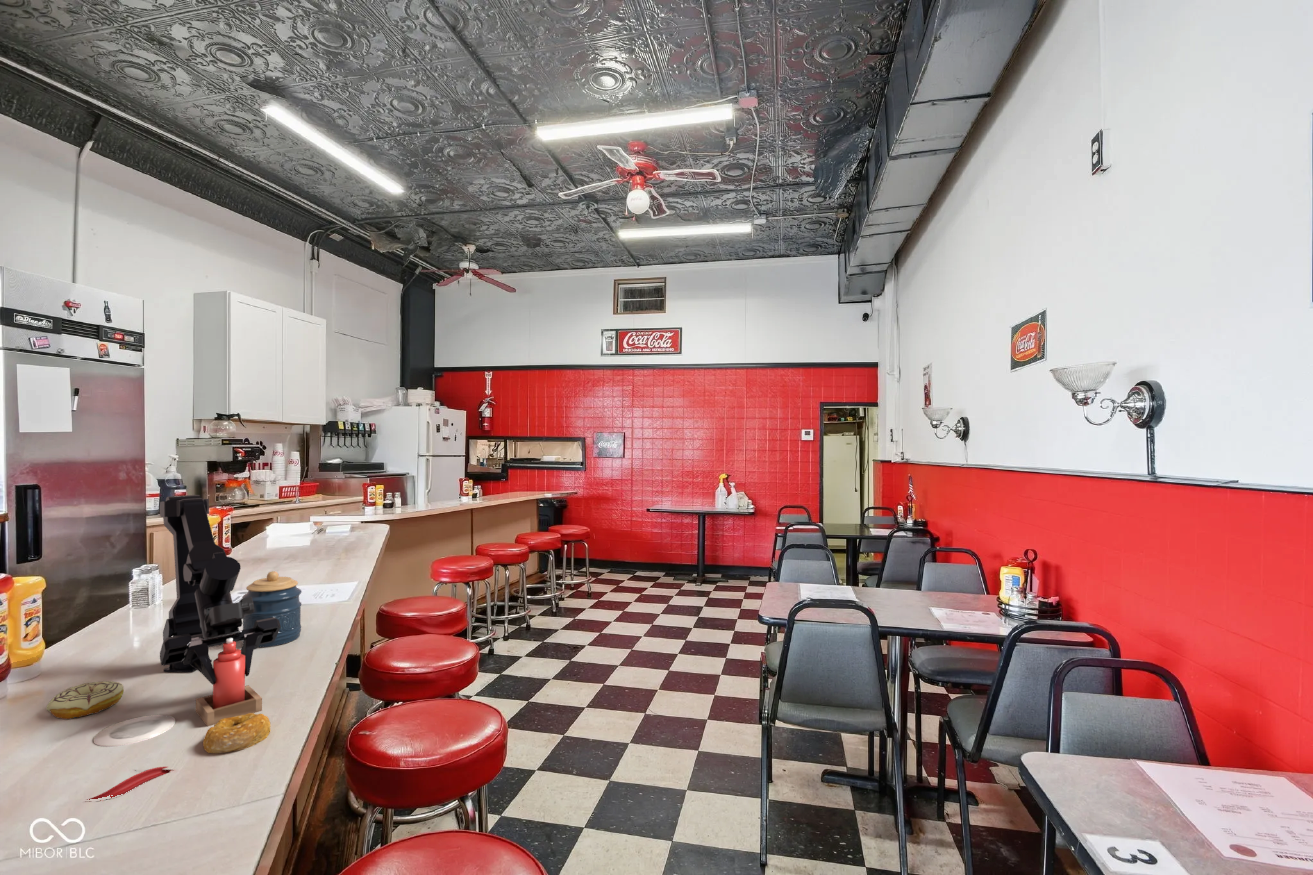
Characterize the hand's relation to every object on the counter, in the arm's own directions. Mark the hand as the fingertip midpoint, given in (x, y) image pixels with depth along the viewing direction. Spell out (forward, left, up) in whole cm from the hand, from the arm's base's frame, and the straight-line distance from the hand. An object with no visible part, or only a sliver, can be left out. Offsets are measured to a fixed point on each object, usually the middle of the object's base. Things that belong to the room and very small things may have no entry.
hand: (231, 679), depth 116 cm
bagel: (+8, -9, -7) cm, 14 cm away
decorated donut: (-30, +3, -7) cm, 31 cm away
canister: (-19, +42, -7) cm, 47 cm away
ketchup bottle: (-1, +1, -6) cm, 7 cm away
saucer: (-12, -7, -7) cm, 16 cm away
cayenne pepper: (+1, -22, -8) cm, 24 cm away
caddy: (-1, +1, -7) cm, 7 cm away
